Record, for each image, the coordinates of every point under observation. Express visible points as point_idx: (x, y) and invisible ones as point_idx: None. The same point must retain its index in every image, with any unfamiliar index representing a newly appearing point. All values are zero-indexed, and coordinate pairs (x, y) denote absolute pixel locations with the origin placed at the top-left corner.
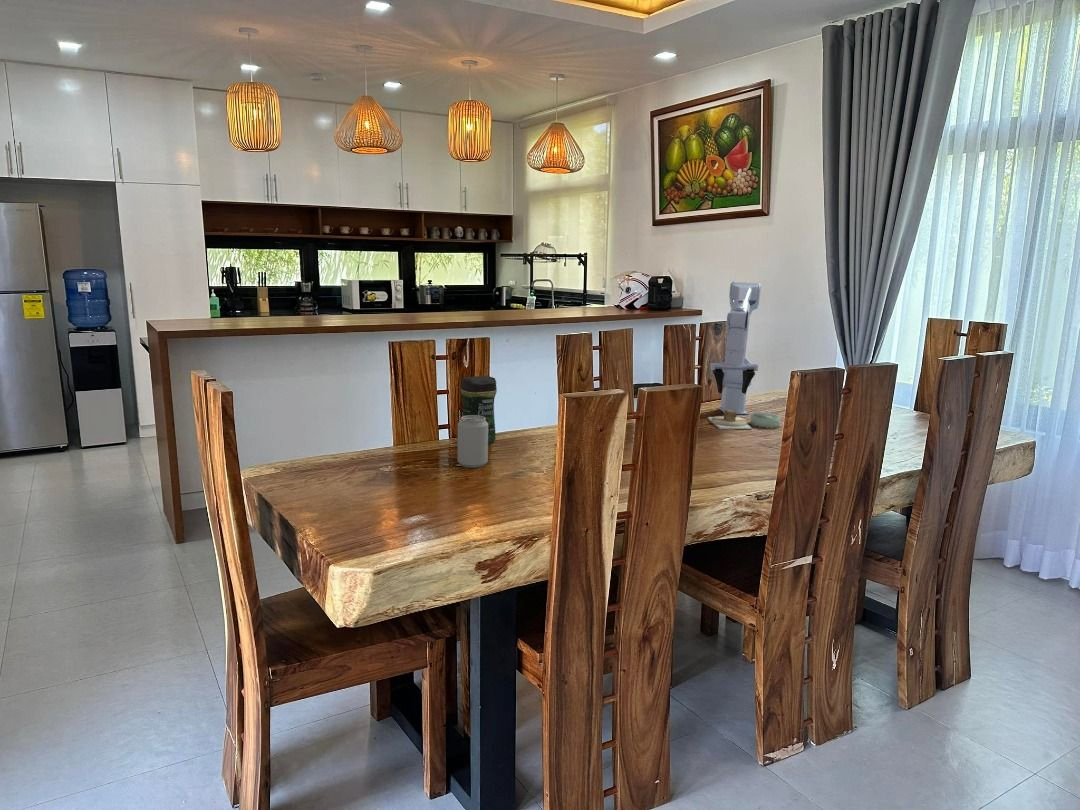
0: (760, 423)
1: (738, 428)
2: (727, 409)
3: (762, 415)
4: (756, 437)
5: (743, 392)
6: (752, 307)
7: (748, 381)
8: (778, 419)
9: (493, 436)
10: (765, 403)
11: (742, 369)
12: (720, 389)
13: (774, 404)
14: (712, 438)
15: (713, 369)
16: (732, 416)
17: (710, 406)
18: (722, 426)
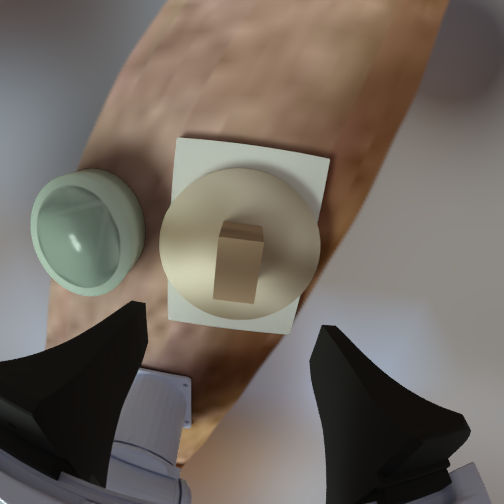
0: (117, 185)
1: (241, 144)
2: (240, 298)
3: (85, 242)
4: (224, 16)
5: (143, 316)
6: None
7: (75, 350)
8: (45, 188)
9: None
10: None
11: (105, 497)
12: (346, 338)
13: None
14: (412, 40)
15: (464, 470)
16: (238, 231)
17: (205, 438)
18: (311, 172)
